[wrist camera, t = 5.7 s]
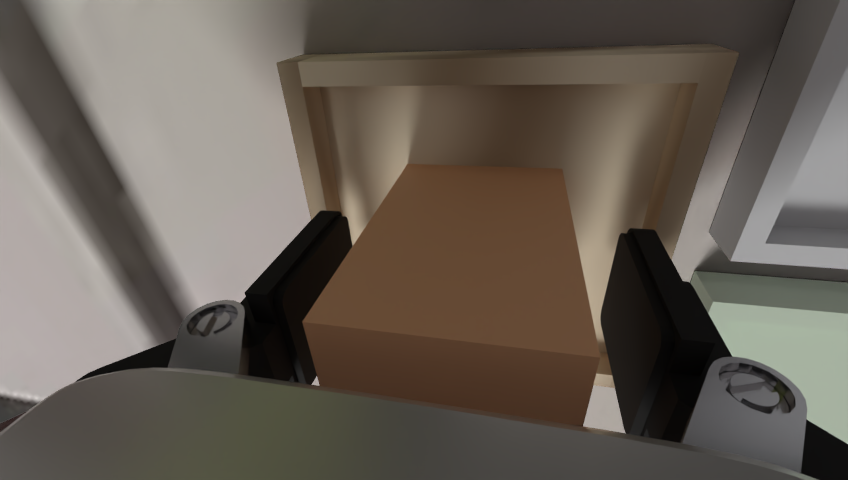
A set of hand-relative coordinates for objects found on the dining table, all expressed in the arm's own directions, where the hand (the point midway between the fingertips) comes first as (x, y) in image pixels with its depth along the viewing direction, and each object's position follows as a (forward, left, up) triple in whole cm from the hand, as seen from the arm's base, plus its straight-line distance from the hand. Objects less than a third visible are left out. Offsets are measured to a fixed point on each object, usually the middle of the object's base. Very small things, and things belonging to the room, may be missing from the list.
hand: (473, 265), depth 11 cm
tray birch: (0, 0, -2) cm, 2 cm away
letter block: (0, 0, -2) cm, 2 cm away
